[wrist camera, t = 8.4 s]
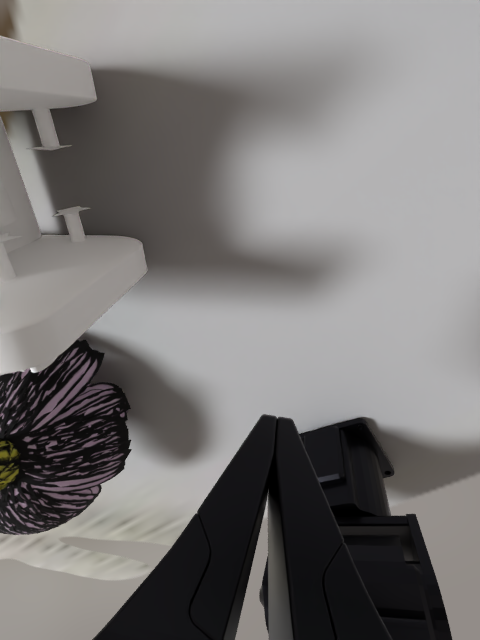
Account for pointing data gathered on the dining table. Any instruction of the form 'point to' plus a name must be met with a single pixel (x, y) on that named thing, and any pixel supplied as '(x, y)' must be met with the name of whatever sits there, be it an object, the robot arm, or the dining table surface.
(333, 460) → the robot arm
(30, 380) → the decorative flower
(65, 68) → the cable organizer
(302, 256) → the dining table surface
